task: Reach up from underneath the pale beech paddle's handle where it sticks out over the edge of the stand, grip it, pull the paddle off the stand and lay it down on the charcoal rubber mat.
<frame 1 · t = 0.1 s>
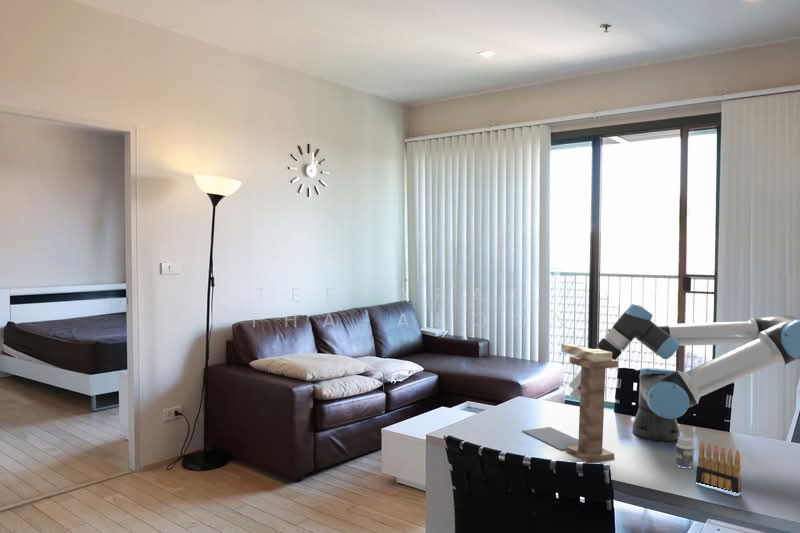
hand: (572, 392, 193), 15 cm above the table, tool tilted 35°, fingers open, 13 cm apart
paddle: (583, 356, 180), point 30 cm above the table, touching stand
mat: (555, 438, 191), on the table
stand: (589, 454, 177), on the table
pill bottle: (683, 466, 169), on the table
ammunition clip: (717, 490, 153), on the table
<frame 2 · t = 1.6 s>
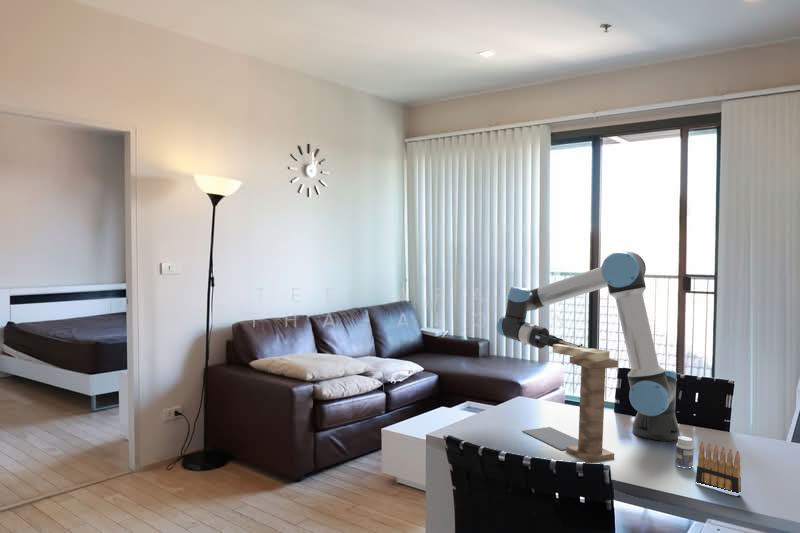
hand: (586, 352, 189), 30 cm above the table, tool horizontal, fingers open, 13 cm apart
paddle: (578, 356, 180), point 30 cm above the table, touching stand
everything else where it was.
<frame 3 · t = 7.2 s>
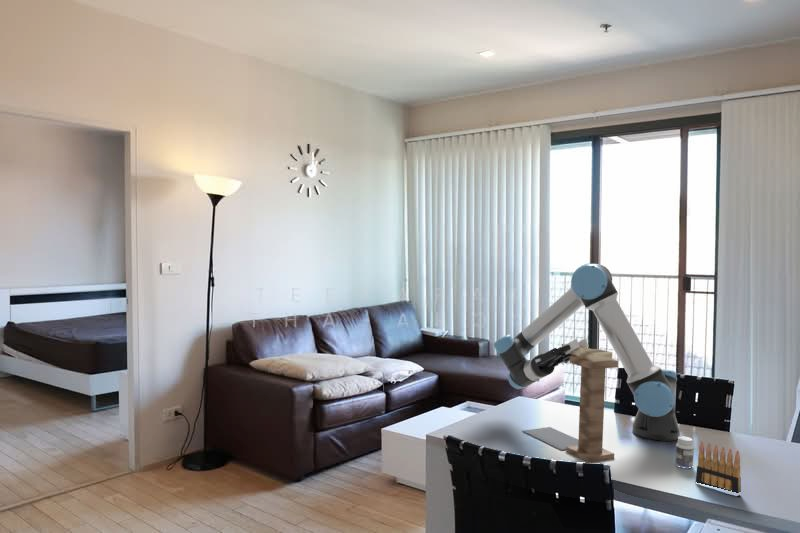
hand: (581, 342, 180), 34 cm above the table, tool pointing upward, fingers closed on paddle, 3 cm apart
paddle: (583, 356, 180), point 30 cm above the table, touching gripper, stand
everything else where it was.
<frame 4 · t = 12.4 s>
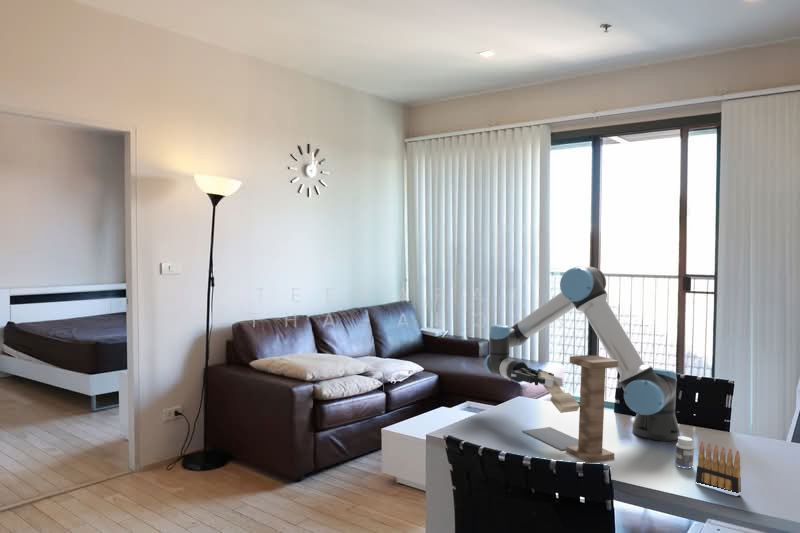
hand: (556, 383, 191), 19 cm above the table, tool horizontal, fingers closed on paddle, 3 cm apart
paddle: (554, 393, 192), point 15 cm above the table, tilted 29°, touching gripper
everything else where it was.
when the fingers open (9 cm above the table, at t = 15.0 s): paddle drops 5 cm, resting on mat.
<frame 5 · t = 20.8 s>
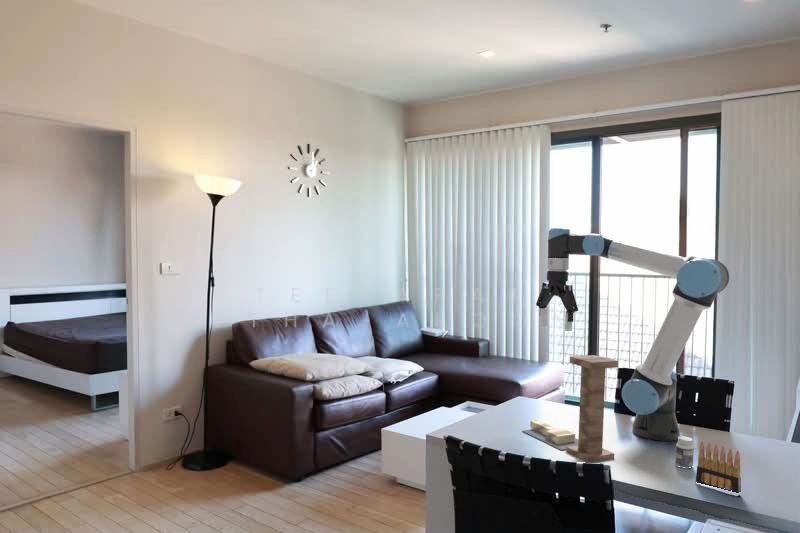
hand: (555, 328, 209), 35 cm above the table, tool pointing down, fingers open, 13 cm apart
paddle: (549, 434, 194), resting on mat
everything else where it was.
at the end: paddle inside the target area on the mat (3.0 cm from its centre), point 0.4 cm above the mat's base; paddle touching mat; paddle tilted 0° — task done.
